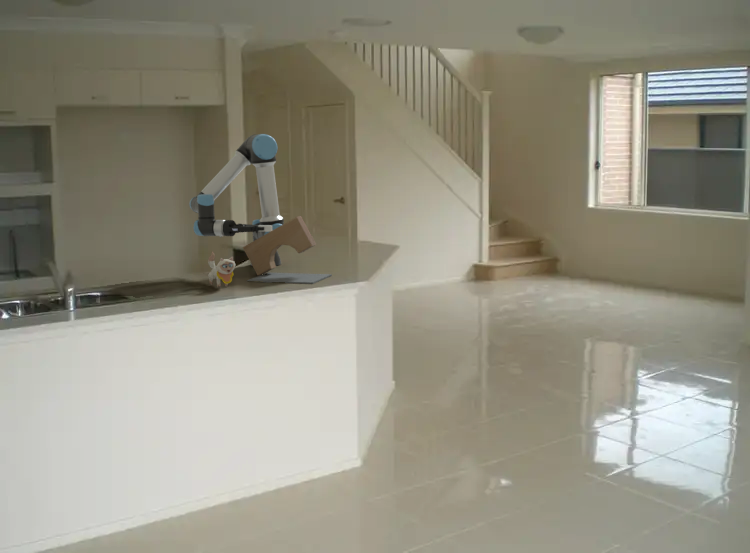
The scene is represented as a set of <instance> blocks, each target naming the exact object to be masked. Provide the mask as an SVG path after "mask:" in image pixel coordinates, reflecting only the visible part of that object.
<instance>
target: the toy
mask: <svg viewBox="0 0 750 553" xmlns="http://www.w3.org/2000/svg"><path fill="white" fill-rule="evenodd" d="M215 258H216V256H215V253H214V251H211V255H210V256H209V257H208V260H207V263H208V266H209V267H210V268H211V270H210V271H209V273H208V274H207V276H208V279H209V280H208V281H209V285H210V286H212V285H213V284H214V282H213V281H214V280H216V287H217V288H221V287H222V286H221V284H222V283H221V281H222V282H223V283H224V287H225V286H227V287H228V286H229V284H231V283H232V281H233V277H234V270H235V268H236V263H235V260H234V256H231V257H229V258H224V259H223V258H222V257H220V260H219V262H218V263H217V265H216V264H215Z"/></svg>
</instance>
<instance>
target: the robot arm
mask: <svg viewBox="0 0 750 553" xmlns="http://www.w3.org/2000/svg"><path fill="white" fill-rule="evenodd" d="M278 149H279V148H278V144H277V141H276V140H275V138H274V137H272V136H271V135H269V134H267V133H259V134H252V135H250V136H248V137H247V138H246V139H245V140H244V141H243V142H242V143H241V144H240V146H239V147H238V148H237V149H236V150H235V153H234V156H232V157H231V158H230V159H229V161H228V162H227V163H226V164H225V165H224V166H223V167H222V168H221V169H220V170H219V172H218V173H217V174H216V175H215V176H214V177H213V178H212V179H211V180H210V181H209V182H208V183H207V184H206V186H204V188H203V189H202V190H201V191H200V192H199V193H198V194H197V195H196V196H194V197H192V198H191V199H190V200H189V208H190V209H191V211H192V212H194V213H196V214H198V219H197V220H195V221H194V223H193V232H194V233H195V235H197V236H198V237H199V236H202V237H219V238H222V237H234V236H235V235H236V234H239V233H252V242H253V241H255V240H257V239H258V238H260V237H262V236H264V235H265V234H267V233H269V232H271V231H272V230H274V229H276V228H278V227H279V226H281V225H283V224H285V222H284V221H285V220H284V217H283V216H282V215H281V214H280V206H279V198H278V191H277V184H276V182H277V181H276V174H275V167H274V166H275V164H276V162H277V157H276V155H277V152H278ZM251 165H253V166H254V167H255V173H256V179H257V181H256V182H257V187H258V188H257V189H258V195H259V203H260V210H261V211H260V212H261V218H260V219H253V220H252V224H249V223H236V221H234V220H233V219H215V200H216V199H217V198H218V197H219V196H220V195H221V194H222V192H224V191H225V190H226V188H228V187H229V185H230V184H231V183H232V182H233V181H234V180H235V179H236V178H237V177H238V175H240V173H241V172H242V171H243V170H244V169H246V167H247V166H251ZM274 262H275V265H276V267H277V266H280V265H282V260H281V256H280V254H279V251H278V250H277V251H276V253H275V257H274ZM250 266H251V267H253V266H252V264H251V263H250Z"/></svg>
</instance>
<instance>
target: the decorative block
mask: <svg viewBox="0 0 750 553" xmlns="http://www.w3.org/2000/svg"><path fill="white" fill-rule="evenodd" d="M282 246H289V247H290V248H293V249H294V250H295V251H296V253H298V254H301V253H304V252H306V251H308V250H309V249H311V248H313V247H315V246H317V242H316V241H315V239H314V236H313V235H312V233H311V232H310V230H309V227H308V226H307V224H306V222H305V221H304V218H303V216H301V215H298V216H295V217H294V218H292V219H290V220H288V221H287V222H284V224H283V225H281V226H279V227H278V228H276V229H274V230H272V231H271V232H269V233H267V234H265V235H264V236H262V237H260V238H258V239H257V240H255V241H253V240H252V241H251V242H250V243H248V244H247V245H244V246H243V247H242V249H243V251H244V253H245V254H246V256H247V258H248V260H249V262H250V265H251V264H252V266H251V267H253V270H254V271H255V273H256V275H257V277H258V276H260V275H262V274H266V273H269V272H270V271H272V270H273V269H275V268H277V266H276V265H275V262H274V257H275V253H276V251H278V250H279V249H280V248H281V247H282Z"/></svg>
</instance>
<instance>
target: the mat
mask: <svg viewBox="0 0 750 553" xmlns="http://www.w3.org/2000/svg"><path fill="white" fill-rule="evenodd" d="M332 276H333V275H332V274H331V273H297V272H296V273H295V272H293V273H292V272H291V273H290V272H266V273H265V274H263V275H260V276H258V275H257V276H255V277H252V278H249V279H247V280H246V282H247V281H263V282H262V283H272V282H285V283H284V284H304V285H305V284H308V285H309V284H310V285H313V284H316V283H318V282H320V281H323V280H325V279H328V278H330V277H332Z"/></svg>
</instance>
